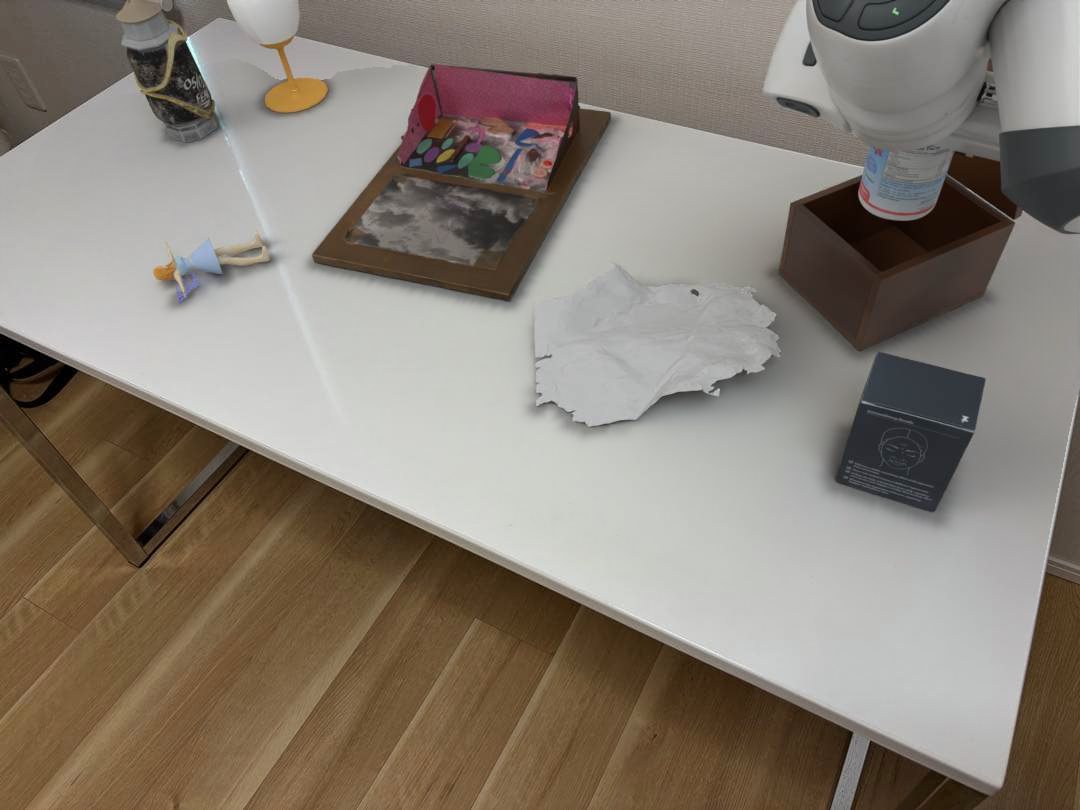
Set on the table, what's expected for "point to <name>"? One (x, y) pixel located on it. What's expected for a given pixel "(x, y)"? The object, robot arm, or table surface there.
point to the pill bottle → (903, 181)
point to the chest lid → (983, 178)
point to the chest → (890, 259)
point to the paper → (644, 344)
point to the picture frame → (470, 181)
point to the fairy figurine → (207, 262)
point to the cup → (278, 49)
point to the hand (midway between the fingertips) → (916, 132)
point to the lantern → (167, 71)
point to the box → (910, 430)
